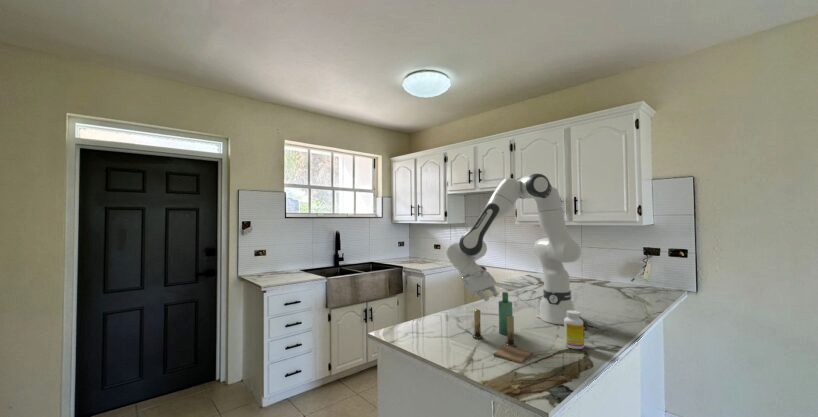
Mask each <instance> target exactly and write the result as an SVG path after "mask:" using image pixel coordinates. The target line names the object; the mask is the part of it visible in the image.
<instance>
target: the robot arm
mask: <svg viewBox="0 0 818 417" xmlns="http://www.w3.org/2000/svg"><path fill="white" fill-rule="evenodd" d="M560 196H561V195H560V193H559V191H558V189H557V188H556V187H554V186H552V184H551V183H550V179H548V177H547V176H546V175H544V174H541V173H533V174H527V175H525V176H521V177H519V178H517V179H515V178H511V177H506V178H504V179H503V180H501V182H500V183H499V184H498V185H497V187H495V189H494V191H493V193H491V196H490V198H489V200H488V202H487V204H486V206H485V207H484V208H483V210H482V212H481V213H480V215H479V216H478V218H477V219H476V220H475V222H474V224H473V225H472V226H471V228H470V229H469V230H468V231H466V232H465V233H464V234H463V235H462V236H461V237H460V239H459V242H457V241H456V242H453V243H451V245H450V244H449V247H448V248H447V250H446V256H447V258H448V260H449V261H450V263H451V265H453V267H454V268H456V269H457V270H458V272H459V274H460V276H461V277H462V278H461V279H462V282H463V284H464V287H465V288H466V290H467V291H468V292H469V294H470V295H471V296H475V295H477V296H479V297H480V299H483V301H484V302H488V301H489V300H490V297H489V296H488V295H486V294H485V293H484V292H487V291H490V292H491V293H492V296H493V297H494V298H497V297H499V293H498V291H497V289H496V286H497V281H496V280H495V278H494V277H493V275H492V274H491V273H490V272H489V271H488V269H487V267H486V266H483V265H479V264H478V263H476V261H478V260H480V259H481V258H483V257H484V256H485V255H486V254H487V251H488V248H487V247H488V246H487V244H486V242H485V241H484V237H485V235H486V234H487V232H488V230H489V229H490V227H491V226H492V224H493V223H494V222H495V221H496V220H499V219H503V218H505V217H507V216H508V215H509V213H510V212H511V211H512V209H513V208H514V206H515V204H516V202H517V200H518V199H522V200H523V199H534V201H535V202H536V207H537V216H538V222H539V227H540V229H541V230H543V232H544V233H545V235H546V237H543V238H540V239H537V240H536V241H535V242H534V246H533V251H534V254H535V255H536V256H537V258H538V259H539V262H540V265H541V268H542V272H543V284H544V285H543V287H544V289H543V290H542V291H543V292H542V294H543V298H542V299H541V300H540V303H539V304H540V306H539V307H540V309H539V314H536V317H537V318H539V319H540V320H542V321H543V322H545V323H549V324H553V325H563V326H564V319H565V318H566V317H567V311H569V310H572V311H576V310H575V306H576V305H575V303H574V302H573V301H572V291H571V289H570V288H571V287H570V274H569V273H568V271H567V270H566V268H565V267H564V264H566V263H573V262H577V261H578V259H579V258H580V257H581V254H582V251H581V250H582V248H581V246H580V245H579V243H578V242H577V241H575V240H574V239H573V237H572V236H571V233H570V231H569V229H568V228H567V225H566V221H565V216H564V209H563V203H562V200H561V199H562V198H561V197H560ZM563 263H564V264H563Z"/></svg>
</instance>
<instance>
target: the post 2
mask: <svg viewBox="0 0 818 417" xmlns="http://www.w3.org/2000/svg"><path fill="white" fill-rule="evenodd" d="M514 318H515V317H514V315H513V316H511V315H508V316H507V335H506V337H507V338H506V339H507V342H505V345H507V346H511V347H515V348H517V343H516V342H515V320H514ZM505 345H504V346H505Z"/></svg>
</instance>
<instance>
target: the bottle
mask: <svg viewBox="0 0 818 417" xmlns="http://www.w3.org/2000/svg"><path fill="white" fill-rule="evenodd" d="M501 294H502V295H501V296H502V300H499V301H498V334H500V335H502V336H507V316H508V315H511V316H514V315H513V302H512V301H510V300H509V292H506V291H503V292H502V293H501Z"/></svg>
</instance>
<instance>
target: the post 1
mask: <svg viewBox="0 0 818 417" xmlns="http://www.w3.org/2000/svg"><path fill="white" fill-rule="evenodd" d="M473 314H474V315H473V316H474V317H473V318H474V321H473V322H474V334H472V339H475V340H482V339H483V335H482V334H481V331H482V329H481V309H478V308H477V309H474V313H473Z"/></svg>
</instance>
